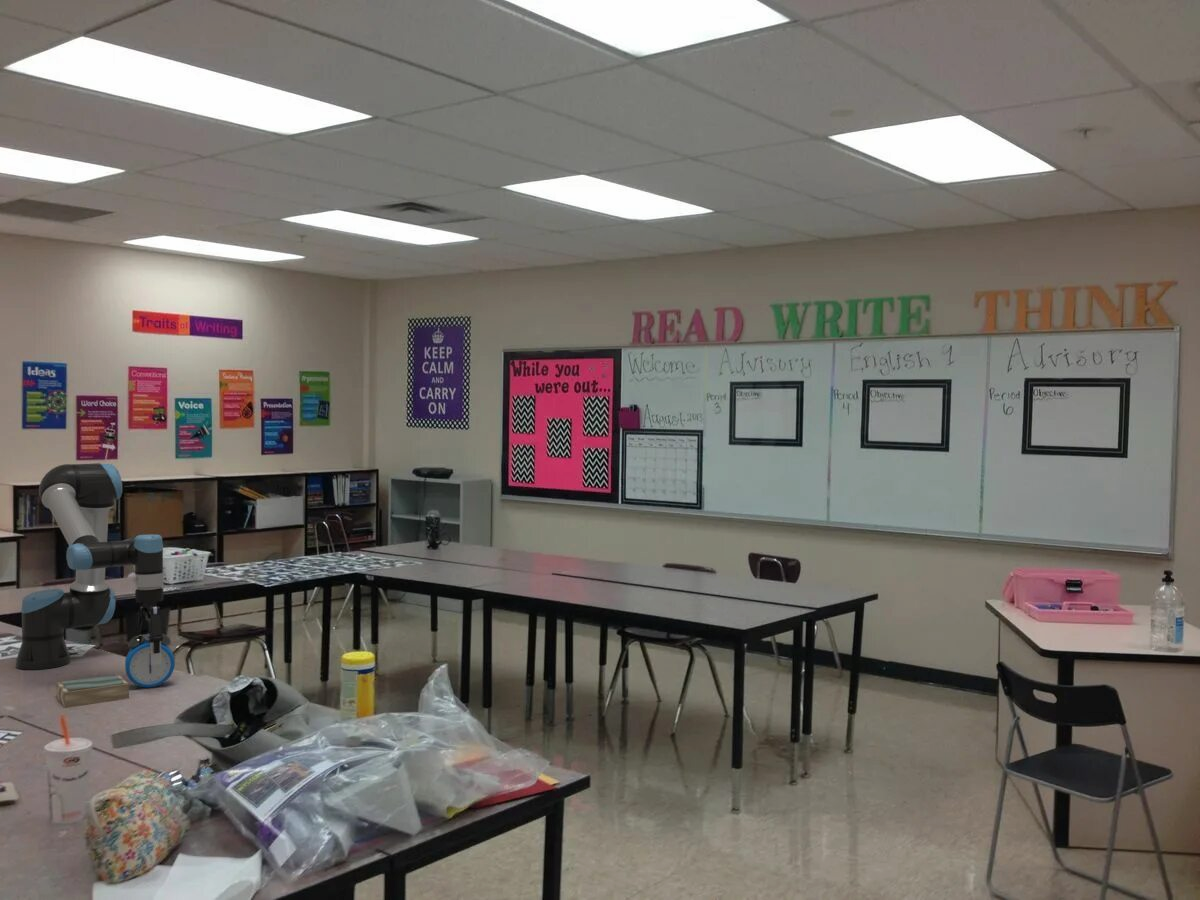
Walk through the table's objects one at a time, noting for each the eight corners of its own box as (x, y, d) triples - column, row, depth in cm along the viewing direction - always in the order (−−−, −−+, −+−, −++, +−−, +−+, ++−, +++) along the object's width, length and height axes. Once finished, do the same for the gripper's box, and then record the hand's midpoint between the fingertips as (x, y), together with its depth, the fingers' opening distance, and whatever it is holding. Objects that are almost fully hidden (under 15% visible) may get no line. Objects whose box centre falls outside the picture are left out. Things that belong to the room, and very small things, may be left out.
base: (56, 696, 287) (56, 681, 287) (118, 687, 297) (118, 673, 296) (65, 707, 276) (65, 691, 276) (129, 698, 285) (128, 682, 285)
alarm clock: (125, 691, 293) (125, 639, 293) (125, 686, 299) (124, 635, 299) (174, 686, 299) (174, 635, 299) (173, 681, 305) (173, 631, 304)
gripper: (126, 584, 306) (127, 654, 306) (145, 594, 286) (146, 669, 286) (152, 582, 311) (153, 651, 311) (173, 591, 290) (174, 665, 291)
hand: (150, 660), depth 299 cm, fingers open, 13 cm apart
